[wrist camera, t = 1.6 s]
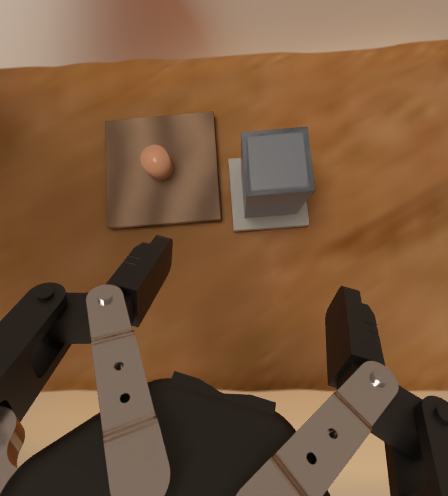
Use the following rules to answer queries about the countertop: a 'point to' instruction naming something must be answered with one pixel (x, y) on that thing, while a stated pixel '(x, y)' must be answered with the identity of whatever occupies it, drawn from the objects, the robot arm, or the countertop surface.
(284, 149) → the grey upright block
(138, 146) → the walnut board
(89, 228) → the countertop surface
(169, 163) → the pink rounded lump
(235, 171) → the rubber mat
